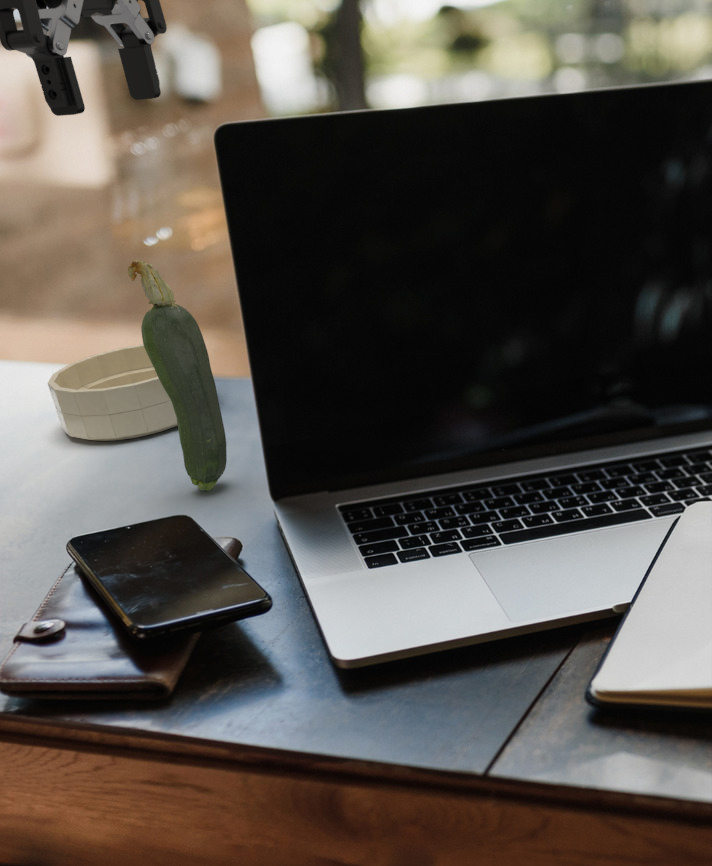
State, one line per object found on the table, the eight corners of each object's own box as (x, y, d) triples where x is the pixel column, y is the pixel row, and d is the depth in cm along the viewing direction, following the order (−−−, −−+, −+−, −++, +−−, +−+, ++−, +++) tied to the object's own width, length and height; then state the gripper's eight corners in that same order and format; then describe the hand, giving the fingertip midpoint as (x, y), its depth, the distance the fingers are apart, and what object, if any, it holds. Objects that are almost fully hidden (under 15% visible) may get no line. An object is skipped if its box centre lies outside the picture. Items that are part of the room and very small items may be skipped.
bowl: (53, 456, 101) (35, 401, 99) (78, 406, 113) (63, 357, 111) (212, 427, 104) (198, 373, 102) (220, 381, 117) (207, 333, 115)
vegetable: (246, 476, 93) (187, 247, 85) (237, 498, 89) (174, 260, 81) (192, 483, 92) (128, 254, 84) (181, 506, 88) (113, 267, 80)
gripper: (68, -132, 79) (128, 97, 86) (-92, -148, 66) (-8, 123, 73) (157, -144, 77) (211, 91, 84) (10, -162, 65) (87, 117, 71)
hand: (109, 106), depth 78 cm, fingers open, 8 cm apart
